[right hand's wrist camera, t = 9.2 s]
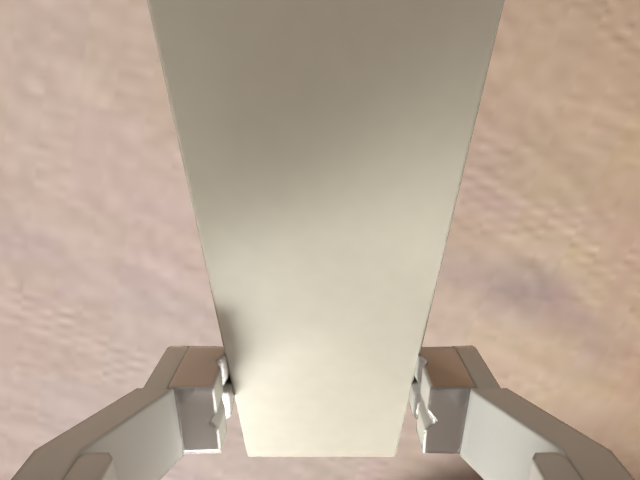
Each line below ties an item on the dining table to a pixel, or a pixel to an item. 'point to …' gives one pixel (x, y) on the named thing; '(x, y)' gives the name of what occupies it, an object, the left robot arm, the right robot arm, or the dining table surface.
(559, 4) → the dining table surface
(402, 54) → the bar
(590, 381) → the dining table surface
